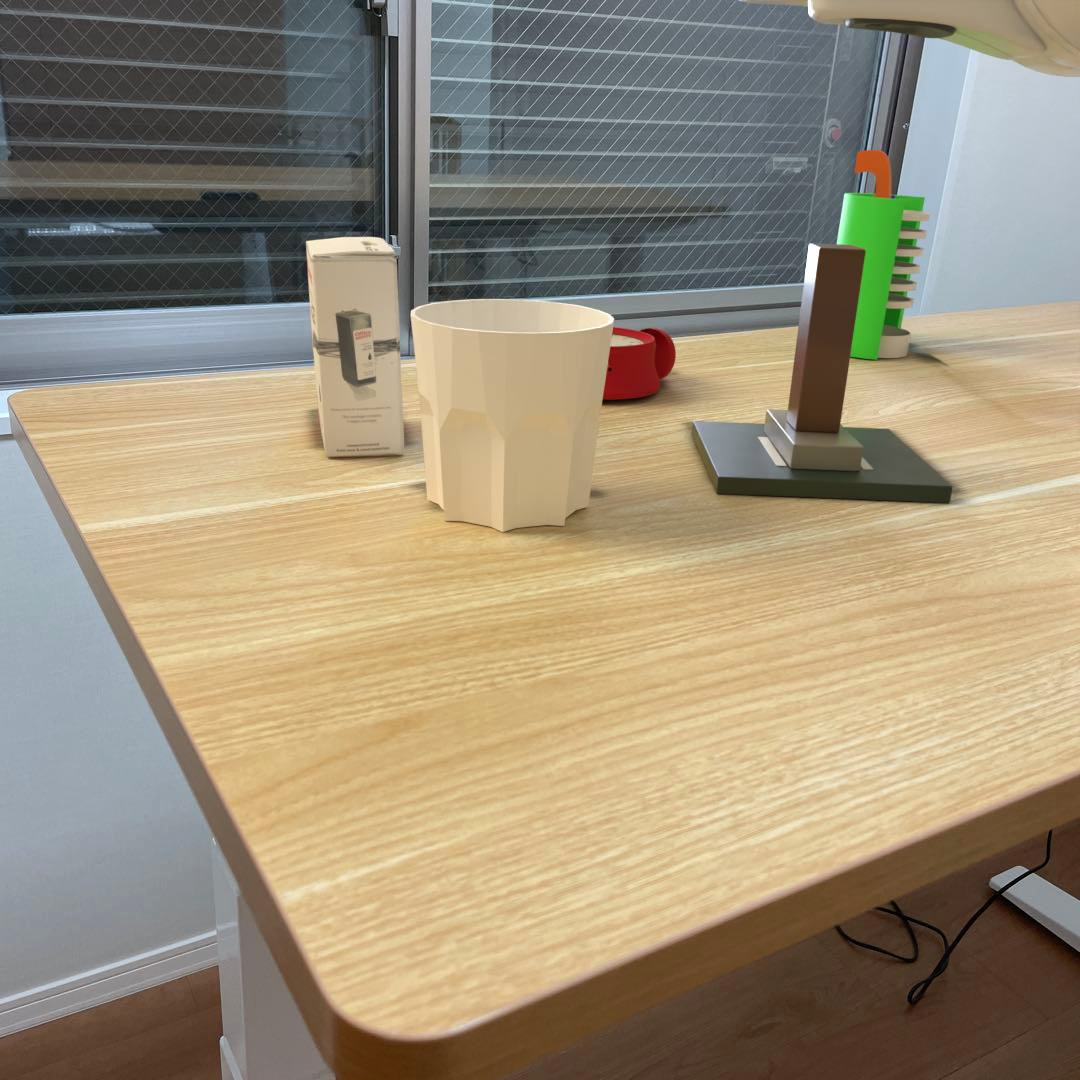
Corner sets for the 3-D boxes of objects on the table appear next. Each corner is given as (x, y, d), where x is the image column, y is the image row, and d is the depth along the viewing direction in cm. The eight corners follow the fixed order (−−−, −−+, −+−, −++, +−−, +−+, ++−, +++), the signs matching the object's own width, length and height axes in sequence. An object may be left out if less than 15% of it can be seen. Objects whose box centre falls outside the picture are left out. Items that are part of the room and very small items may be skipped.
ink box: (313, 421, 68) (304, 235, 64) (389, 419, 69) (386, 236, 65) (320, 460, 60) (311, 251, 56) (406, 457, 62) (404, 252, 57)
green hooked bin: (909, 363, 94) (945, 153, 87) (819, 355, 96) (847, 149, 89) (905, 345, 102) (937, 152, 96) (821, 338, 104) (848, 148, 98)
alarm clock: (496, 346, 75) (576, 278, 86) (503, 423, 79) (579, 348, 90) (630, 363, 71) (696, 290, 83) (631, 443, 75) (694, 362, 86)
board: (886, 443, 68) (889, 428, 68) (950, 503, 57) (953, 485, 57) (691, 435, 68) (692, 420, 68) (716, 493, 57) (718, 476, 57)
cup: (375, 515, 52) (371, 318, 49) (468, 464, 61) (470, 293, 57) (556, 551, 48) (566, 341, 45) (628, 492, 57) (641, 311, 53)
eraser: (763, 431, 66) (786, 238, 62) (825, 433, 66) (853, 240, 62) (790, 469, 59) (818, 252, 54) (860, 472, 59) (894, 255, 54)
